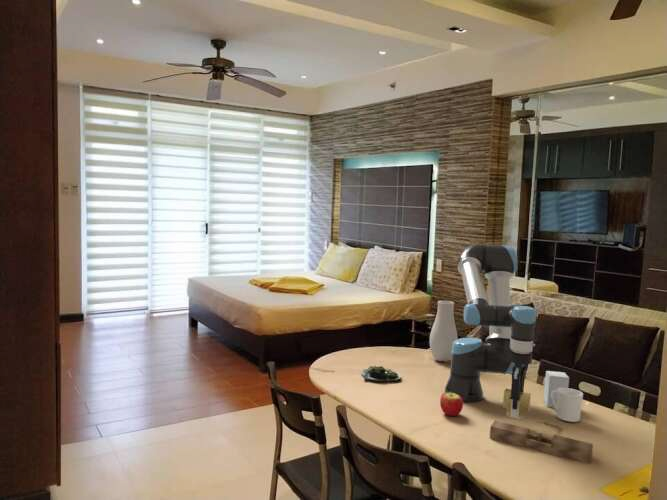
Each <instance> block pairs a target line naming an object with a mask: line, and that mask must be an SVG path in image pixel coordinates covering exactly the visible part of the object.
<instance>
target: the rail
mask: <svg viewBox="0 0 667 500" xmlns="http://www.w3.org/2000/svg"><path fill="white" fill-rule="evenodd" d="M489 429H490V431H489V439H492V440H496V441H499V442H504V443H507V444H513V445H515V446H518V447H523V448H527V449H531V450H535V451H539V452H543V453H546V454H547V453H548V454H550V455H554V456H559V457H562V458H565V459H566V458H567V459H569V460H574V461H577V462H582V463H586V464H589V465H591V463H592V458H593V457H592V456H593V448H594V447H593V446H594V444H593V443H590V442H586V441H582V440H578V439H573V438H570V437H565V436H562V435H557V434H553V436H552V438H550V437H546V436H543V433H541V432H539V433H538V434H534V433H530V431H531V430H530V428H528V427H524V426H519V425H515V424H511V423H507V422H503V421H498V420H493V422H492V424H491V425H490V428H489Z"/></svg>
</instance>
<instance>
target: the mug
mask: <svg viewBox="0 0 667 500" xmlns="http://www.w3.org/2000/svg"><path fill="white" fill-rule="evenodd" d="M555 392H557V406H556V404H555V401H554V397H553V393H555ZM551 398H552V402H553V405H554V408H553V409H554V410H555V411H556V412H555V417H556V419H558V420H559V421H561V422H564V423H568V424H577V423H580V420H581V413H582V405H583V404H582V403H583V398H584V393H583V392H582V391H580V390H577V389H574V388H569V387H568V388H558V389H557V391H552V392H551Z"/></svg>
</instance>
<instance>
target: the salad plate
mask: <svg viewBox="0 0 667 500" xmlns="http://www.w3.org/2000/svg"><path fill="white" fill-rule="evenodd" d="M360 372H361V375H362V376H363V379H365V380H367V381H369V382H371V383H377V384H389V383H388V382H394V383H397V381H398V382H400V381H401V380H402V375H401V374H399V373H398V372H397V371H395V370H394V369H392V368H385V367H384V366H381V365H380V366H379V365H378V366H377V365H373V366H372V365H370V366H368V368H367V369H362V370H361V371H360ZM385 372H387V373H385Z"/></svg>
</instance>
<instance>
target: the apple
mask: <svg viewBox="0 0 667 500" xmlns="http://www.w3.org/2000/svg"><path fill="white" fill-rule="evenodd" d="M448 388H449V387H448ZM449 389H450V388H449ZM450 391H451V390H450ZM439 399H440V400H439V402H440V403H439V405H440V408H441V411H442V413H443V414H445V415H446V416H450V417H455V416H458V415H459V414H461V412H462V410H463V406H464V402H463V400H462V398H461V397H460V396H459V395H457V394H455V393H452V392H451V393H445V392H444V393H442V394H441V396H440V398H439Z"/></svg>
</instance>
